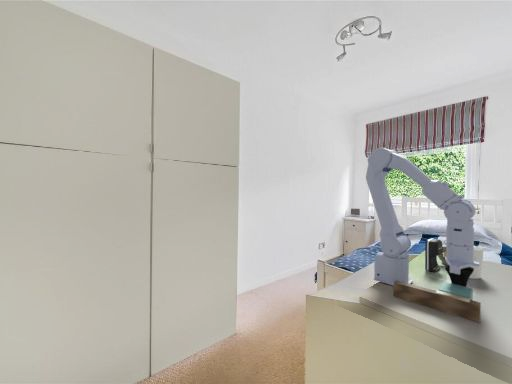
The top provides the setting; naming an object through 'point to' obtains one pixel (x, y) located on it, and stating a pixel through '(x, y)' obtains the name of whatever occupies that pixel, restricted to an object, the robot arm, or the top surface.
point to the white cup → (477, 258)
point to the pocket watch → (441, 256)
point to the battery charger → (432, 254)
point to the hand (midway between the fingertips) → (459, 292)
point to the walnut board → (439, 300)
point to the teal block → (457, 290)
